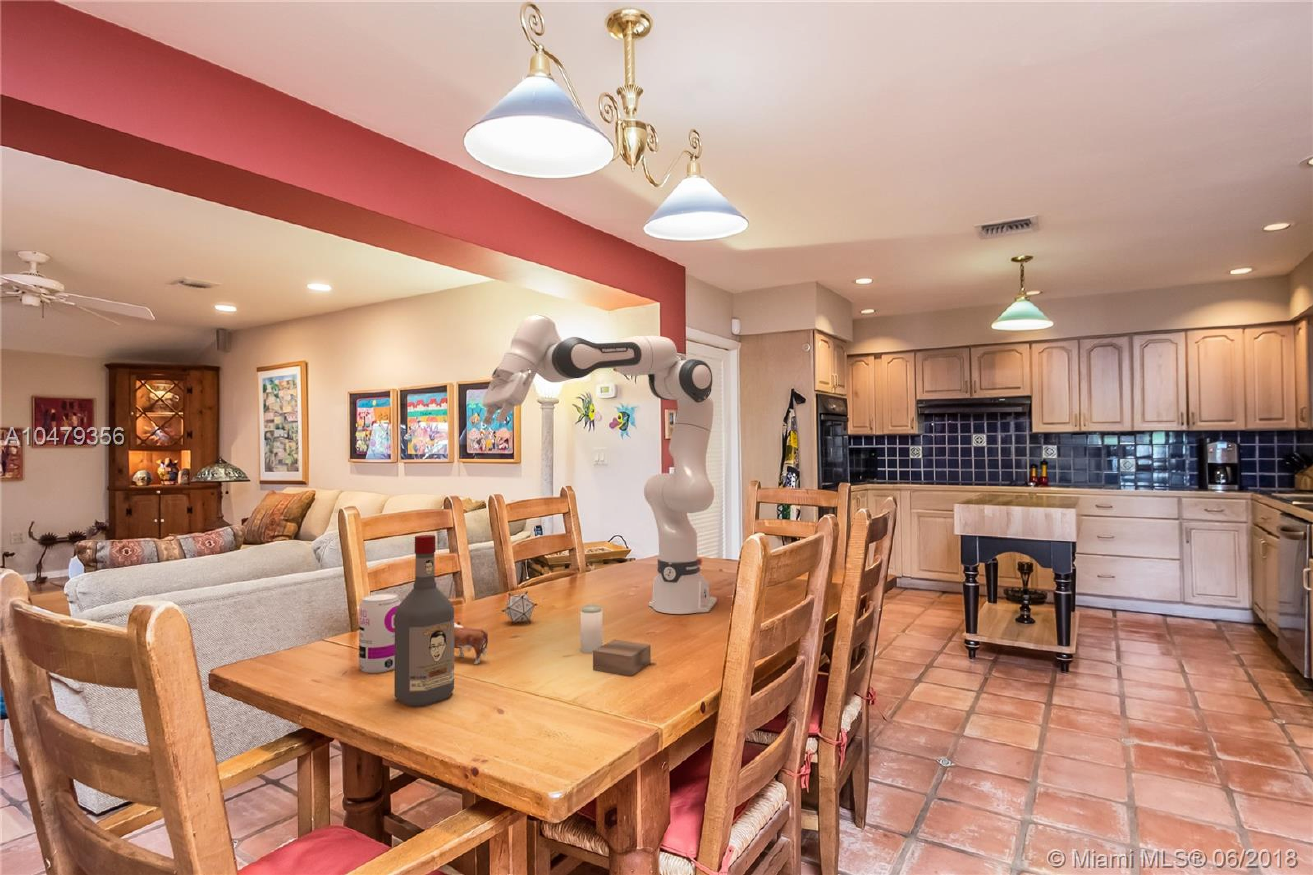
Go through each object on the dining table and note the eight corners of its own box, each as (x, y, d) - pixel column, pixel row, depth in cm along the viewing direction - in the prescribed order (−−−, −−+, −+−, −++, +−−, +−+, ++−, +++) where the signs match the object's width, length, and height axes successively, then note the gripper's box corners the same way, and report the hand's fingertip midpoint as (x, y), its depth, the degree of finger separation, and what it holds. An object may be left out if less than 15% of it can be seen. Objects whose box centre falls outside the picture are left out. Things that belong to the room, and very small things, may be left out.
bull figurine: (449, 652, 151) (449, 616, 151) (492, 661, 144) (492, 624, 144) (434, 657, 147) (434, 620, 147) (477, 667, 140) (477, 628, 140)
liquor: (389, 697, 123) (389, 536, 123) (433, 684, 130) (434, 532, 130) (414, 710, 117) (415, 541, 117) (459, 695, 124) (460, 535, 124)
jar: (588, 645, 155) (588, 603, 155) (606, 648, 153) (606, 606, 153) (576, 651, 150) (576, 608, 151) (595, 654, 148) (595, 610, 148)
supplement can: (408, 663, 143) (409, 593, 143) (383, 675, 135) (383, 602, 135) (376, 660, 145) (377, 591, 145) (349, 672, 137) (350, 600, 137)
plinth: (614, 657, 146) (614, 639, 146) (650, 663, 142) (650, 644, 142) (592, 669, 138) (592, 650, 138) (630, 676, 134) (630, 656, 134)
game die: (524, 638, 174) (531, 612, 169) (494, 626, 175) (501, 600, 169) (536, 614, 182) (544, 589, 177) (508, 602, 182) (514, 577, 177)
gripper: (544, 373, 155) (519, 425, 151) (512, 384, 172) (489, 431, 168) (521, 360, 152) (496, 412, 148) (491, 372, 169) (467, 419, 165)
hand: (492, 422), depth 159 cm, fingers open, 8 cm apart
